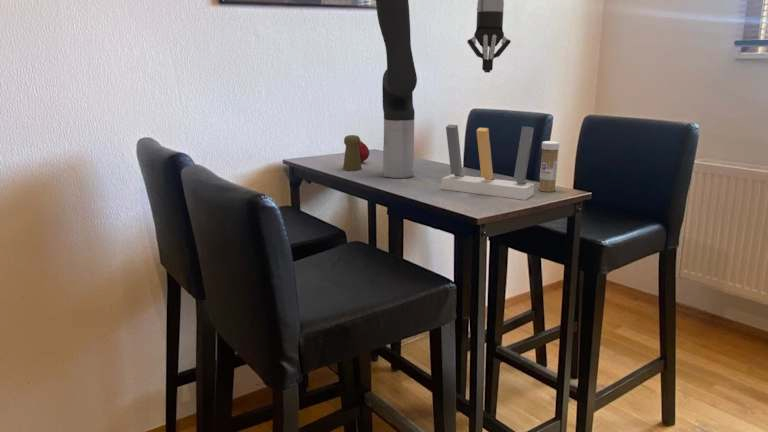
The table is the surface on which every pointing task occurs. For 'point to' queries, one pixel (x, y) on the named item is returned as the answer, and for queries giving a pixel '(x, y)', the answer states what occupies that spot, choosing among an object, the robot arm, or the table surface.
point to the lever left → (454, 149)
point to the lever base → (488, 186)
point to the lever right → (523, 154)
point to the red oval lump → (363, 151)
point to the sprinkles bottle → (548, 166)
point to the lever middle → (484, 153)
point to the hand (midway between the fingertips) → (487, 72)
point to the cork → (352, 153)
